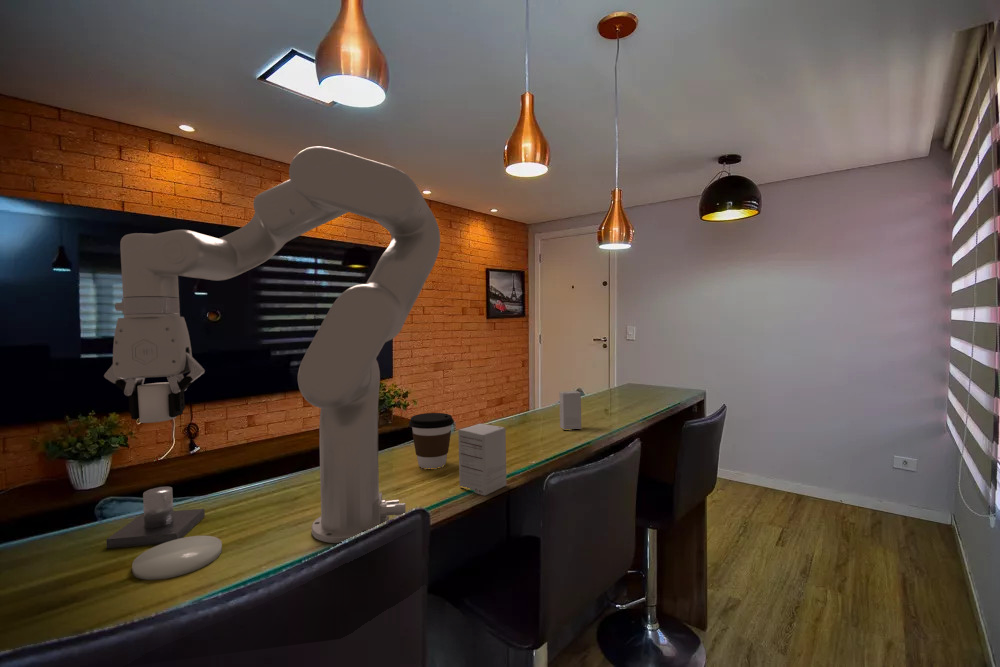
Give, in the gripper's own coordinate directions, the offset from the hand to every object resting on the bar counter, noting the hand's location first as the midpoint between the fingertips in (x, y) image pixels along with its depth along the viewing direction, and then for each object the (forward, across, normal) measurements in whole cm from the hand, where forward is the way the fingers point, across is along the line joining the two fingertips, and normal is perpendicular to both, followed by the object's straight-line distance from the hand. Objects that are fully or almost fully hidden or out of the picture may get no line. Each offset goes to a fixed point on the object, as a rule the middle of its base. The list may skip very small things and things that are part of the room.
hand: (157, 415), depth 78 cm
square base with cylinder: (+20, -1, 0) cm, 20 cm away
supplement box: (+21, +56, +9) cm, 61 cm away
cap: (+1, 0, 0) cm, 1 cm away
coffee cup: (+21, +46, +26) cm, 57 cm away
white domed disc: (+20, +7, -11) cm, 24 cm away
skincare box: (+22, +91, +54) cm, 108 cm away
